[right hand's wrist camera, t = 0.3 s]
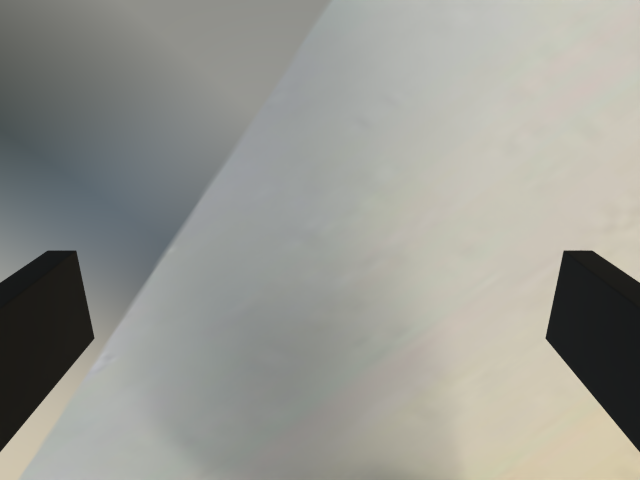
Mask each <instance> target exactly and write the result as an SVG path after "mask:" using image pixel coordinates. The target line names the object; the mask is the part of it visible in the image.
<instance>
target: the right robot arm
mask: <svg viewBox="0 0 640 480" xmlns="http://www.w3.org/2000/svg"><path fill="white" fill-rule="evenodd" d="M93 339H94V334H93V329H92V324H91V320H90V315H89V310H88V305H87V301H86V296H85V291H84V286H83V281H82V276H81V271H80V267H79V262H78V257H77V252H76V251H47V252H45V253H44V254H42V255H41V256H39V257H38V258H36V259H35V260H33V261H32V262H30V263H29V264H27V265H26V266H24V267H23V268H21V269H20V270H18V271H17V272H16V273H14V274H13V275H11V276H10V277H8V278H7V279H5V280H4V281H2V282H1V283H0V452H1V450H2V449H3V448H4V447H5V446H6V444H7V443H8V442H9V441H10V440H11V438H12V437H13V436H14V435H15V434H16V432H17V431H18V430H19V429H20V428H21V426H22V425H23V424H24V423H25V421H26V420H27V419H28V418H29V417H30V415H31V414H32V413H33V412H34V411H35V409H36V408H37V407H38V406H39V404H40V403H41V402H42V401H43V400H44V399H45V397H46V396H47V395H48V394H49V392H50V391H51V390H52V389H53V388H54V386H55V385H56V384H57V383H58V382H59V380H60V379H61V378H62V377H63V376H64V374H65V373H66V372H67V371H68V370H69V368H70V367H71V366H72V365H73V364H74V362H75V361H76V360H77V359H78V358H79V356H80V355H81V354H82V353H83V352H84V350H85V349H86V348H87V347H88V346H89V344H90V343H91V342H92V341H93ZM546 339H547V341H548V342H549V343H550V344H551V346H552V347H553V348H554V349H555V350H556V352H557V353H558V354H559V355H560V356H561V358H562V359H563V360H564V361H565V362H566V364H567V365H568V366H569V367H570V368H571V370H572V371H573V372H574V373H575V374H576V376H577V377H578V378H579V379H580V380H581V382H582V383H583V384H584V385H585V387H586V388H587V389H588V390H589V391H590V393H591V394H592V395H593V396H594V397H595V399H596V400H597V401H598V402H599V403H600V405H601V406H602V407H603V408H604V409H605V411H606V412H607V413H608V414H609V415H610V417H611V418H612V419H613V420H614V421H615V423H616V424H617V425H618V426H619V428H620V429H621V430H622V431H623V432H624V434H625V435H626V436H627V437H628V438H629V440H630V441H631V442H632V443H633V444H634V446H635V447H636V448H637V449H638V450H639V452H640V283H639V282H638V281H636V280H635V279H633V278H632V277H630V276H629V275H627V274H626V273H624V272H623V271H622V270H620V269H619V268H617V267H616V266H614V265H613V264H611V263H610V262H608V261H607V260H605V259H604V258H602V257H601V256H599V255H598V254H596V253H595V252H593V251H564V252H563V257H562V262H561V267H560V271H559V276H558V281H557V286H556V291H555V295H554V300H553V305H552V310H551V315H550V320H549V324H548V329H547V334H546Z"/></svg>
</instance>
